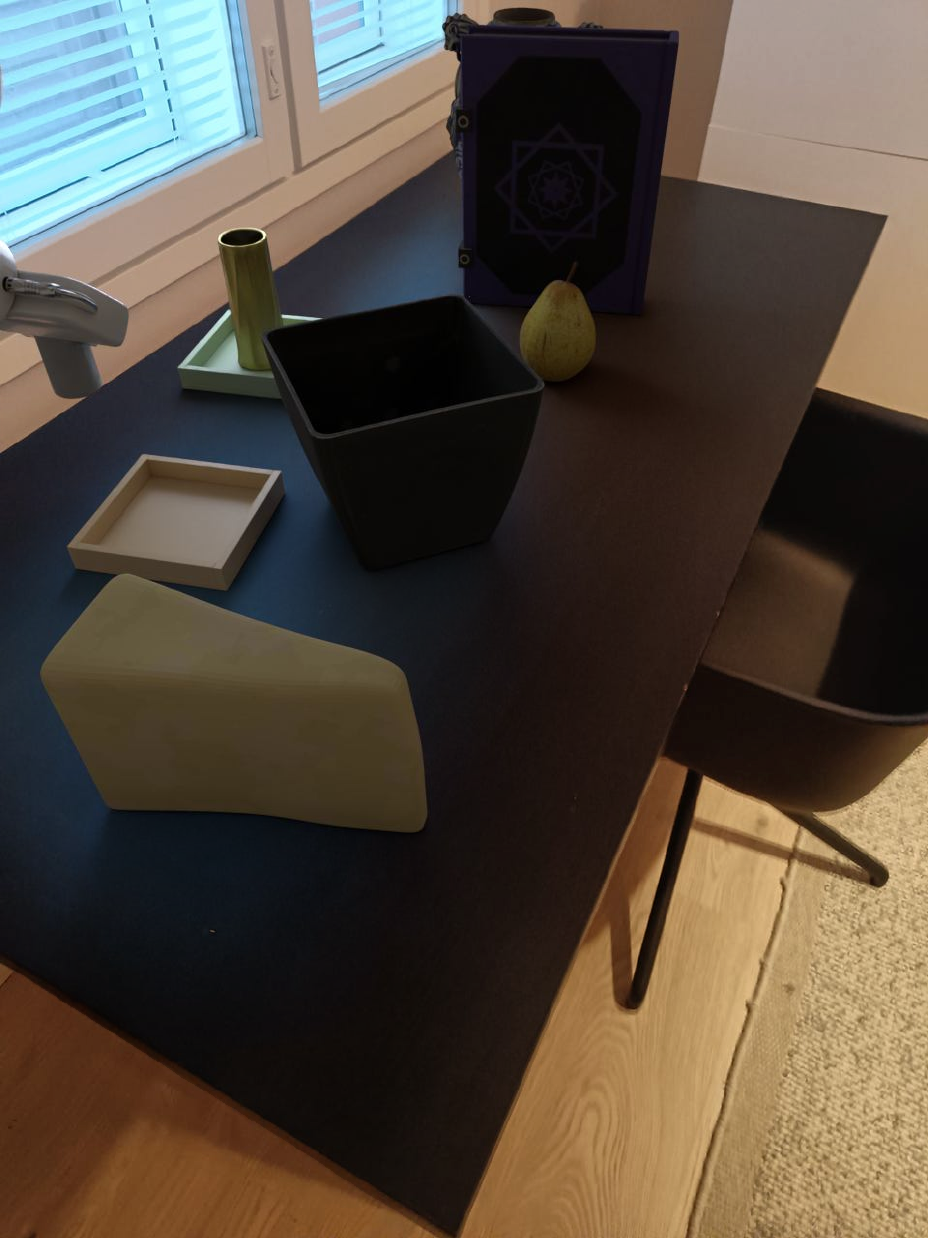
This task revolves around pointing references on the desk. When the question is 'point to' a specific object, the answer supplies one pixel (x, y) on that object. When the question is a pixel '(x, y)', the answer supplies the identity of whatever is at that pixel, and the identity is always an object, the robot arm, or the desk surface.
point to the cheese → (234, 714)
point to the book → (562, 160)
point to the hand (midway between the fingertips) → (64, 333)
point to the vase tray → (227, 363)
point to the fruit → (558, 332)
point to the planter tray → (179, 522)
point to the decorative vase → (453, 43)
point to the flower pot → (408, 422)
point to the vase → (250, 292)
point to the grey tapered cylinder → (69, 367)
